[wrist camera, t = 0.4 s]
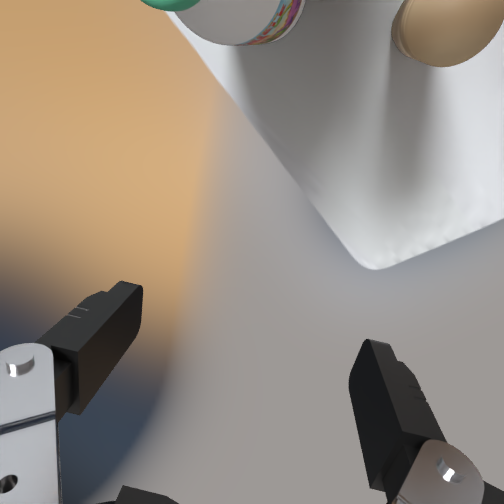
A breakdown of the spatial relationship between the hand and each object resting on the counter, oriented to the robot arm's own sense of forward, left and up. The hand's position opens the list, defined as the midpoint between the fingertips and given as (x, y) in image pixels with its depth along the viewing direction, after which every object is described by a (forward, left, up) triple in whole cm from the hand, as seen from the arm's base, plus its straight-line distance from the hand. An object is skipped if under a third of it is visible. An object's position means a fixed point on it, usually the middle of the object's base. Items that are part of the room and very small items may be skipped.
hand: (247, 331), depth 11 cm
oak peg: (-7, +9, -29) cm, 31 cm away
